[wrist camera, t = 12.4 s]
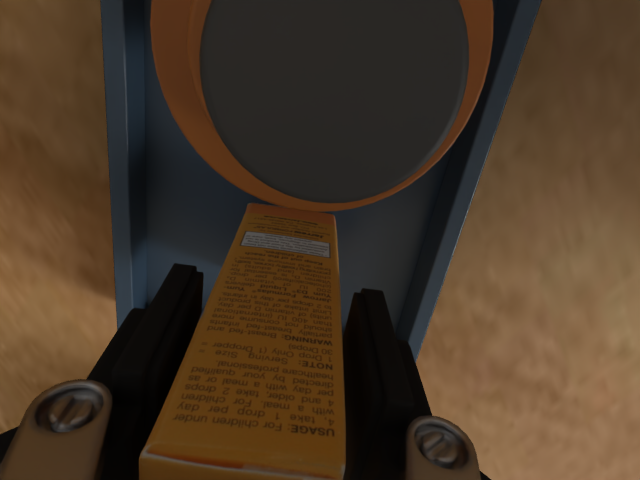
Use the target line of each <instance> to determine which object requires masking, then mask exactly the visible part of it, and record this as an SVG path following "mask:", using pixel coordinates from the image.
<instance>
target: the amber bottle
mask: <svg viewBox="0 0 640 480" xmlns="http://www.w3.org/2000/svg"><path fill="white" fill-rule="evenodd" d="M493 14H494V12H493V2H492V0H152V2H151V20H150V27H151V42H152V51H153V57H154V62H155V68H156V73H157V76H158V79H159V82H160V86H161V89H162V92H163V95H164V97H165V100H166V102H167V104H168V107H169V109H170V111H171V113H172V116H173V117H174V119H175V121H176V122H177V124H178V126H179V128H180V129H181V131H182V133H183V134H184V136H185V137H186V139H187V140H188V141H189V142H190V144H191V145H192V146H193V148H194V149H195V150H196V152H197V153H198V154H199V155H200V156H201V157H202V158H203V159H204V160H205V161H206V162H207V163H208V164H209V165H210V166H211V167H212V168H213V169H214V170H215V171H216V172H218V173H219V174H220V175H221V176H222V177H224V178H225V179H226V180H227V181H229V182H230V183H232V184H234V185H235V186H237V187H238V188H240V189H241V190H243V191H244V192H247V193H249V194H251V195H253V196H255V197H257V198H259V199H261V200H264V201H267V202H270V203H272V204H275V205H278V206H282V207H287V208H291V209H296V210H304V211H315V212H323V211H340V210H346V209H352V208H357V207H361V206H364V205H368V204H371V203H374V202H377V201H379V200H381V199H384V198H386V197H389V196H391V195H393V194H395V193H396V192H398V191H400V190H402V189H403V188H405V187H407V186H409V185H410V184H411V183H413V182H414V181H415V180H417V179H418V178H419V177H421V176H422V175H424V174H425V173H426V172H427V171H428V170H429V169H430V168H431V167H432V166H433V165H435V164H436V163H437V162H438V161H439V160H440V159H441V158H442V156H443V155H444V154H445V153H446V152H447V151H448V149H449V148H450V147H451V146H452V145H453V143H454V142H455V140H456V139H457V137H458V136H459V134H460V133H461V132H462V130H463V129H464V127H465V125H466V124H467V122H468V120H469V118H470V116H471V114H472V112H473V110H474V108H475V106H476V104H477V101H478V99H479V96H480V93H481V91H482V88H483V85H484V82H485V78H486V74H487V70H488V67H489V63H490V56H491V49H492V42H493Z"/></svg>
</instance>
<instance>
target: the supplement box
mask: <svg viewBox="0 0 640 480" xmlns="http://www.w3.org/2000/svg"><path fill="white" fill-rule="evenodd" d="M345 464H346V422H345V395H344V369H343V343H342V323H341V297H340V279H339V263H338V247H337V230H336V220H335V216H334V215H333V214H328V213H321V212H315V211H304V210H296V209H291V208H287V207H281V206H273V205H265V204H258V203H249V204H248V205H247V208H246V212H245V214H244V217H243V219H242V222H241V224H240V226H239V229H238V231H237V233H236V236H235V239H234V241H233V243H232V245H231V248H230V250H229V252H228V255H227V257H226V259H225V262H224V264H223V266H222V268H221V271H220V273H219V276H218V278H217V280H216V282H215V285H214V287H213V289H212V291H211V294H210V296H209V298H208V301H207V303H206V305H205V308H204V310H203V312H202V314H201V316H200V319H199V321H198V324H197V326H196V329H195V332H194V334H193V337H192V339H191V342H190V344H189V346H188V348H187V351H186V353H185V356H184V358H183V361H182V363H181V365H180V367H179V370H178V372H177V374H176V377H175V379H174V382H173V384H172V386H171V389H170V391H169V393H168V396H167V398H166V400H165V403H164V405H163V407H162V409H161V412H160V414H159V416H158V418H157V421H156V423H155V425H154V427H153V429H152V431H151V434H150V436H149V438H148V440H147V442H146V445H145V447H144V448H143V450H142V452H141V454H140V457H139V480H343V475H344V472H345Z"/></svg>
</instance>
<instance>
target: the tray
mask: <svg viewBox="0 0 640 480" xmlns="http://www.w3.org/2000/svg"><path fill="white" fill-rule="evenodd" d="M541 1H542V0H492V2H493V12H494V14H493V42H492V49H491V56H490V63H489V67H488V70H487V74H486V78H485V82H484V85H483V88H482V91H481V93H480V96H479V99H478V101H477V104H476V106H475V108H474V110H473V112H472V114H471V116H470V118H469V120H468V122H467V124H466V125H465V127H464V129H463V130H462V132H461V133H460V134H459V136H458V137H457V139H456V140H455V142H454V143H453V145H452V146H451V147H450V148H449V149H448V151H447V152H446V153H445V154H444V155H443V156H442V158H441V159H440V160H439V161H438V162H437V163H436V164H435V165H433V166H432V167H431V168H430V169H429V170H428V171H427V172H426V173H425V174H424V175H422V176H421V177H419V178H418V179H417V180H415V181H414V182H413V183H411V184H410V185H409V186H407V187H405V188H403V189H402V190H400V191H398V192H396V193H395V194H393V195H391V196H389V197H386V198H384V199H381V200H379V201H377V202H374V203H371V204H368V205H364V206H361V207H357V208H352V209H346V210H340V211H323V212H321V213H328V214H333V215H334V216H335V220H336V230H337V247H338V263H339V279H340V297H341V323H342V339H343V335H344V331H345V327H346V323H347V319H348V314H349V310H350V306H351V302H352V298H353V294H354V293H355V292H358V293H360V292H361V290H362V288H367V289H375V290H382V291H383V293H384V296H385V300H386V303H387V307H388V310H389V314H390V317H391V321H392V324H393V328H394V332H395V335H396V339H397V340H406V341H407V342H408V343H409V345H410V347H411V350H412V354H413V357H414V360H415V363H416V360H417V357H418V355H419V352H420V349H421V346H422V343H423V340H424V337H425V334H426V332H427V329H428V326H429V323H430V320H431V317H432V314H433V311H434V309H435V306H436V303H437V300H438V297H439V294H440V291H441V288H442V286H443V283H444V280H445V277H446V274H447V271H448V268H449V265H450V262H451V260H452V257H453V254H454V251H455V248H456V245H457V242H458V239H459V237H460V234H461V231H462V228H463V225H464V222H465V219H466V216H467V214H468V211H469V208H470V205H471V202H472V199H473V196H474V193H475V191H476V188H477V185H478V182H479V179H480V176H481V173H482V170H483V168H484V165H485V162H486V159H487V156H488V153H489V150H490V147H491V144H492V142H493V139H494V136H495V133H496V130H497V127H498V124H499V121H500V119H501V116H502V113H503V110H504V107H505V104H506V101H507V98H508V96H509V93H510V90H511V87H512V84H513V81H514V78H515V75H516V73H517V70H518V67H519V64H520V61H521V58H522V55H523V52H524V50H525V47H526V44H527V41H528V38H529V35H530V32H531V29H532V27H533V24H534V21H535V18H536V15H537V12H538V9H539V6H540V3H541ZM100 2H101V22H102V41H103V60H104V80H105V99H106V118H107V138H108V157H109V177H110V196H111V215H112V235H113V254H114V273H115V293H116V312H117V331H118V329H119V327H120V326H121V324H122V323H123V321H124V320H125V318H126V316H127V315H128V313H129V312H130V311H131V310H132V309H133V308H142V309H148V307H149V306H150V304H151V302H152V301H153V299H154V297H155V295H156V294H157V292H158V290H159V288H160V287H161V285H162V283H163V282H164V280H165V278H166V276H167V275H168V273H169V271H170V270H171V268H172V266H173V265H174V263H178V264H185V265H193V266H196V267H197V272H203V274H204V279H203V297H202V312H203V310H204V308H205V305H206V303H207V301H208V298H209V296H210V294H211V291H212V289H213V287H214V285H215V282H216V280H217V278H218V276H219V273H220V271H221V268H222V266H223V264H224V262H225V259H226V257H227V255H228V252H229V250H230V248H231V245H232V243H233V241H234V239H235V236H236V233H237V231H238V229H239V226H240V224H241V222H242V219H243V217H244V214H245V212H246V208H247V205H248V204H249V203H258V204H265V205H273V206H278V205H275V204H272V203H270V202H267V201H264V200H261V199H259V198H257V197H255V196H253V195H251V194H249V193H247V192H244V191H243V190H241V189H240V188H238V187H237V186H235V185H234V184H232V183H230V182H229V181H227V180H226V179H225V178H224V177H222V176H221V175H220V174H219V173H218V172H216V171H215V170H214V169H213V168H212V167H211V166H210V165H209V164H208V163H207V162H206V161H205V160H204V159H203V158H202V157H201V156H200V155H199V154H198V153H197V152H196V150H195V149H194V148H193V146H192V145H191V144H190V142H189V141H188V140H187V139H186V137H185V136H184V134H183V133H182V131H181V129H180V128H179V126H178V124H177V122H176V121H175V119H174V117H173V116H172V113H171V111H170V109H169V107H168V104H167V102H166V100H165V97H164V95H163V92H162V89H161V86H160V82H159V79H158V76H157V73H156V68H155V62H154V57H153V51H152V42H151V27H150V20H151V2H152V0H100ZM281 207H282V206H281Z"/></svg>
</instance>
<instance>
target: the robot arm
mask: <svg viewBox="0 0 640 480" xmlns="http://www.w3.org/2000/svg"><path fill="white" fill-rule="evenodd" d="M203 279H204V274H203V272H197V267H196V266H193V265H185V264H178V263H174V265H173V266H172V268H171V270H170V271H169V273H168V275H167V276H166V278H165V280H164V282H163V283H162V285H161V287H160V288H159V290H158V292H157V294H156V295H155V297H154V299H153V301H152V302H151V304H150V306H149V307H148V309H142V308H133V309H132V310H131V311H130V312H129V313H128V315H127V316H126V318H125V320H124V321H123V323H122V324H121V326H120V327H119V329H118V331H117V332H116V334H115V335H114V337H113V338H112V340H111V341H110V343H109V345H108V346H107V348H106V349H105V351H104V352H103V354H102V356H101V357H100V359H99V360H98V362H97V363H96V365H95V367H94V368H93V370H92V371H91V373H90V374H89V376H88V377H87V379H78V380H70V381H66V382H63V383H60V384H57V385H54V386H52V387H51V388H49V389H47V390H45V391H43V392H42V393H41V394H40V395H39V396H37V397H36V398H35V399H34V400H33V401H32V403H31V404H30V406H29V407H28V408H27V410H26V412H25V414H24V416H23V419H22V421H21V423H20V425H19V426H18V427H16V428H14V429H11V430H9V431H7V432H5V433H2V434H0V480H139V457H140V454H141V452H142V450H143V448H144V447H145V445H146V442H147V440H148V438H149V436H150V434H151V431H152V429H153V427H154V425H155V423H156V421H157V418H158V416H159V414H160V412H161V409H162V407H163V405H164V403H165V400H166V398H167V396H168V393H169V391H170V389H171V386H172V384H173V382H174V379H175V377H176V374H177V372H178V370H179V367H180V365H181V363H182V361H183V358H184V356H185V353H186V351H187V348H188V346H189V344H190V342H191V339H192V337H193V334H194V332H195V329H196V326H197V324H198V321H199V319H200V316H201V314H202V297H203ZM342 343H343V369H344V395H345V422H346V464H345V472H344V475H343V480H491V479H490V478H488V477H487V476H486V475H485V474H483V473H482V472H481V471H480V470H479V465H478V460H477V454H476V451H475V448H474V445H473V443H472V442H471V440H470V439H469V437H468V436H467V434H466V433H465V432H463V431H462V430H461V429H460V428H459V427H458V426H457V425H455V424H453V423H452V422H450V421H449V420H446V419H443V418H441V417H437V416H432V413H431V410H430V407H429V404H428V401H427V398H426V394H425V391H424V388H423V385H422V382H421V379H420V376H419V372H418V369H417V366H416V363H415V360H414V357H413V354H412V350H411V347H410V345H409V343H408V342H407V341H406V340H397V339H396V335H395V332H394V328H393V324H392V321H391V317H390V314H389V310H388V307H387V303H386V300H385V296H384V293H383V291H382V290H375V289H367V288H362V290H361V292H360V293H358V292H355V293H354V294H353V298H352V302H351V306H350V310H349V314H348V319H347V323H346V327H345V331H344V335H343V339H342Z"/></svg>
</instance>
